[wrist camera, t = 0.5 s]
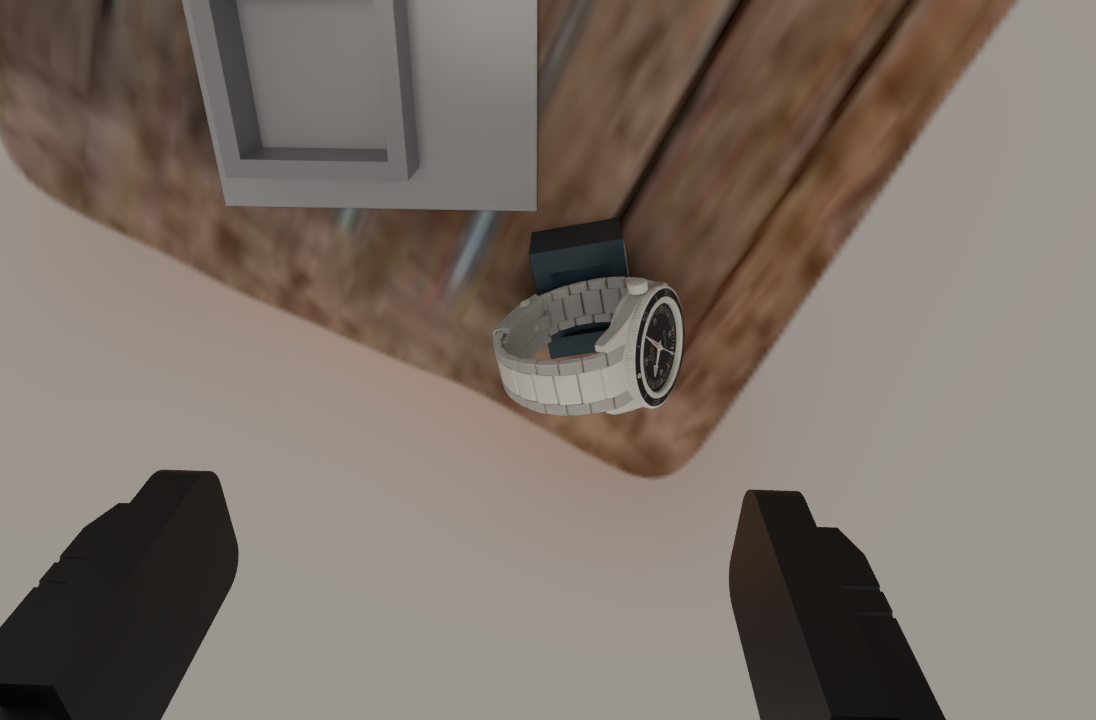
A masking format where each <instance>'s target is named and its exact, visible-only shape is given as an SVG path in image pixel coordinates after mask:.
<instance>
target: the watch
mask: <svg viewBox="0 0 1096 720" xmlns="http://www.w3.org/2000/svg"><path fill="white" fill-rule="evenodd" d="M624 247H625V245H624V240H623V236H622V232H621V227H620V222H619V218H613V219H608V220H602V221H596V222H591V223H585V224H579V225H573V226H568V227H562V228H556V229H550V230H545V231H539V232H533V233H532V237H531V244H530V252H529V257H530V261H531V266H532V271H533V276H534V280H535V285H536V290H537V294H538V295H537V294H534V295H533V296H531V297H530V298H528V299H527V300H524V301H522V302H521V303H520V305H519V306H517V307H516V308H515V309H514V310H512V311H511V312H510V313H509V314H508V315H507V316H506V317H505V318H504V319H503V320H502V321H501V323H500V324H499V325H498V326H497V328H496V329H495V330H494V332H493V340H494V342H493V346H494V350H495V354H496V358H497V362H498V366H499V370H500V374H501V378H502V381H503V385H504V389H505V391H506V393H507V394H508V395H509V397H510V398H512V399H513V400H514V401H515V402H517V403H518V404H520V405H522V406H524V407H528V409H531V410H534V411H537V412H541V413H548V414H554V415H568V414H569V415H583V414H590V413H591V410H592V413H597V412H604V411H606V412H607V413H608V414H614V415H616V414H620V413H624V412H628V411H631V410H634V409H638V408H641V407H646V408H652V409H653V408H657V407H659V406H661V405H662V404H663V403H664V402H665V401H666V400H667V399H668V397H669V396H670V394H671V392H672V390H673V388H674V386H675V383H676V381H677V378H678V375H679V371H680V367H681V363H682V358H683V351H684V338H685V330H684V317H683V311H682V307H681V303H680V300H679V298H678V296H677V294H676V293H675V291H674V290H673V289H672V288H671V287H669V286H668V285H667V284H666V283H665V282H655V281H651V280H647V279H644V278H636V277H629V274H628V267H627V260H626V252H625V248H624ZM547 344H548V346H549V351H550V356H551V359H554V358H560V357H567V356H574V355H580V354H587V353H593V352H601V353H598V354H594V355H591V356H586V357H584V358H583V359H582V361H581V359H580V358H575V359H569V360H562V361H560V362H559V364H558V361H539V362H538V363H537V361H536V360H531V359H532V358H533V357H534V356H535V355H536V354H537V353H538V352H539V351H540V350H541V349H542V348H544V347H545V346H546V345H547ZM582 362H583V367H582ZM583 368H584V369H583ZM577 375H578V377H577ZM578 380H579V382H578ZM579 385H580V387H579ZM580 391H581V393H580ZM581 396H582V398H581ZM589 403H590V404H589ZM590 405H591V409H590Z"/></svg>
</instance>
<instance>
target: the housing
mask: <svg viewBox="0 0 1096 720" xmlns="http://www.w3.org/2000/svg"><path fill="white" fill-rule="evenodd" d="M182 3H183V8H184V12H185V17H186V21H187V26H188V31H189V35H190V40H191V45H192V49H193V54H194V59H195V63H196V68H197V72H198V77H199V82H200V86H201V91H202V96H203V100H204V105H205V110H206V114H207V119H208V123H209V128H210V133H211V137H212V142H213V147H214V151H215V156H216V161H217V165H218V170H219V175H220V179H221V184H222V188H223V193H224V198H225V202H226V206H270V207H327V208H384V209H440V210H497V211H537V66H538V0H182Z"/></svg>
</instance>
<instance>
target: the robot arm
mask: <svg viewBox="0 0 1096 720" xmlns="http://www.w3.org/2000/svg"><path fill="white" fill-rule="evenodd" d="M237 566H238V544H237V540H236V537H235V533H234V529H233V526H232V522H231V519H230V515H229V512H228V508H227V505H226V501H225V497H224V494H223V491H222V487H221V484H220V481H219V478H218V476H217V475H216V474H215V473H214V472H211V471H187V470H159V471H157V472H156V473H154V474H153V475H152V476H151V477H150V478H149V479H148V481H147V482H146V483H145V484H144V486H143V487H142V488H141V490H140V491H139V492H138V493H137V495H136V496H135V497H134V498H133V500H132V501H131V502H130V503H118V504H117V505H115V506H114V507H113V508H111V509H110V510H109V511H107V512H105V513H104V514H103V515H101V516H100V517H98V518H97V519H96V520H94V521H93V522H91V523H90V524H88V525H87V526H86V527H84V528H83V530H82V531H81V532H80V533H79V534H78V535H77V537H76V538H75V539H74V540H73V541H72V543H71V544H70V545H69V546H68V547H67V549H66V550H65V551H64V552H63V553H62V555H61V556H60V561H59V562H58V563H56V562H55V563H54V564H53V565H52V566H51V568H50V569H49V570H48V571H47V572H46V574H45V575H44V576H43V577H42V578H41V579H40V581H39V582H40V584H39V586H38V587H34V588H33V589H32V590H31V591H30V592H29V594H28V595H27V596H26V597H25V598H24V600H23V601H22V602H21V603H20V604H19V606H18V607H17V608H16V609H15V611H14V612H13V613H12V614H11V615H10V616H9V617H8V619H7V620H6V621H5V622H4V623H3V625H2V626H1V627H0V720H161V718H162V716H163V714H164V713H165V711H166V709H167V707H168V705H169V703H170V701H171V699H172V697H173V696H174V694H175V692H176V690H177V688H178V686H179V684H180V682H181V680H182V679H183V677H184V675H185V673H186V671H187V669H188V667H189V665H190V663H191V662H192V660H193V658H194V656H195V654H196V652H197V650H198V648H199V647H200V645H201V643H202V641H203V639H204V637H205V635H206V633H207V631H208V630H209V628H210V626H211V624H212V622H213V620H214V618H215V616H216V614H217V613H218V611H219V609H220V607H221V605H222V603H223V601H224V599H225V597H226V595H227V594H228V592H229V590H230V588H231V586H232V584H233V581H234V578H235V574H236V571H237ZM729 589H730V598H731V603H732V608H733V612H734V616H735V620H736V624H737V628H738V632H739V635H740V640H741V644H742V647H743V651H744V655H745V659H746V664H747V667H748V672H749V676H750V680H751V683H752V687H753V691H754V695H755V699H756V703H757V707H758V711H759V715H760V719H761V720H946V719H945V717H944V715H943V713H942V711H941V709H940V707H939V705H938V703H937V701H936V699H935V697H934V695H933V693H932V691H931V689H930V687H929V685H928V683H927V681H926V679H925V677H924V675H923V673H922V670H921V669H920V666H919V664H918V662H917V660H916V658H915V656H914V654H913V652H912V650H911V648H910V646H909V644H908V642H907V640H906V638H905V636H904V634H903V632H902V630H901V628H900V626H899V624H898V622H897V620H896V618H893V616H892V609H891V607H890V605H889V603H888V601H887V599H886V597H885V595H884V593H883V592H880V585H879V583H878V581H877V579H876V577H875V575H874V573H873V571H872V569H871V567H870V565H869V563H868V561H867V559H866V557H865V555H864V554H863V553H862V552H861V551H860V550H859V549H858V548H857V547H856V546H855V545H854V544H853V543H852V542H851V541H850V540H849V539H848V538H847V537H846V536H845V535H844V534H843V533H842V532H841V531H840V530H839V529H838V528H830V527H829V528H828V527H817V526H816V524H815V521H814V520H813V517H812V514H811V512H810V510H809V508H808V505H807V503H806V501H805V498H804V497H803V495H802V494H801V493H800V492H798V491H774V490H748V491H747V492H746V493H745V496H744V499H743V503H742V508H741V513H740V517H739V522H738V527H737V531H736V536H735V541H734V546H733V551H732V555H731V560H730V567H729Z"/></svg>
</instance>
